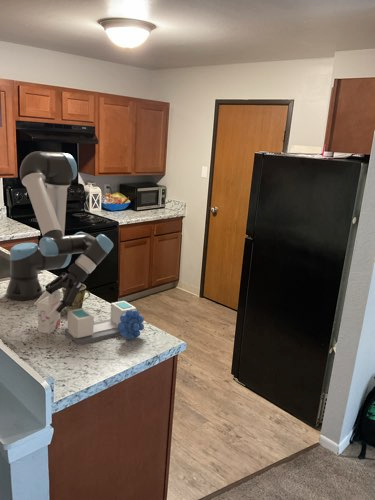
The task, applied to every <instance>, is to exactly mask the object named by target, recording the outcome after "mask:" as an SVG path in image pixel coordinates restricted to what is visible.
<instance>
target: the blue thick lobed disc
mask: <svg viewBox="0 0 375 500" xmlns="http://www.w3.org/2000/svg"><path fill="white" fill-rule="evenodd" d="M144 320H145V318H144V316H143V315H141V314H140V311H139V310H137V309H136V310H134V311H132V310H127V311H126V315H121V316H120V321H121V322H120V323H119V324H118V329H119V330H121V332H120V334H121V335H120V336H121V337H123V338H126V339H127V340H129V341H130V340H131V341H132V340H133V339H134V337H135V338H138V337H140V336H141V331H143V330H144V329H145V325H144Z"/></svg>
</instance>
